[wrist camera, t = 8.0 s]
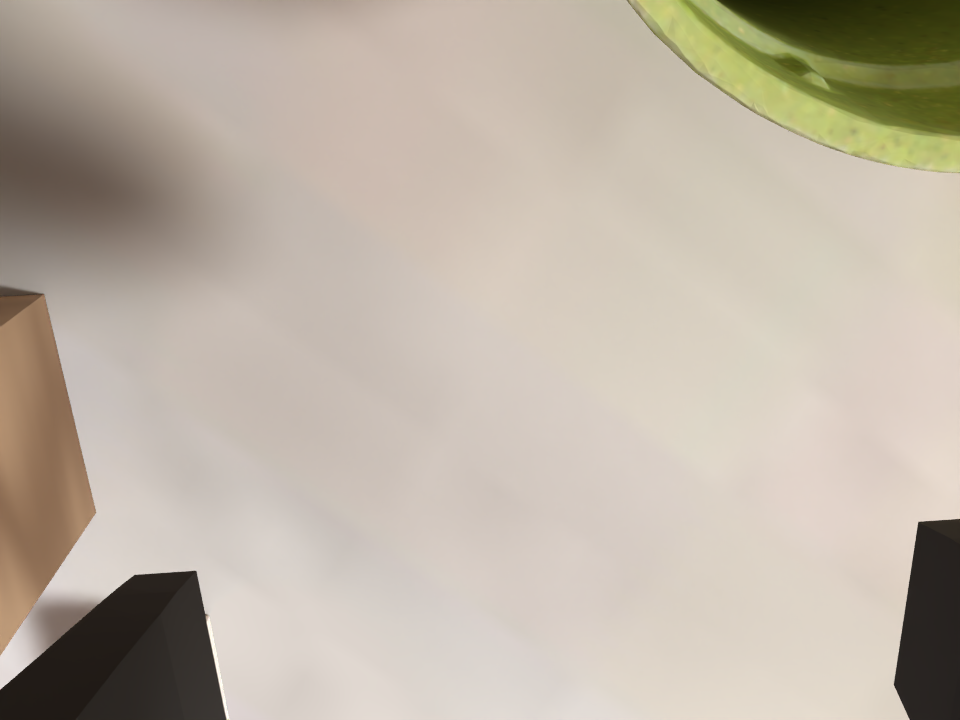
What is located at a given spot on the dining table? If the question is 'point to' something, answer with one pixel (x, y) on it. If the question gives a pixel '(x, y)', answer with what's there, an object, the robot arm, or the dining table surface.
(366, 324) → the dining table surface
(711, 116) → the dining table surface
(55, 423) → the tethered block
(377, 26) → the dining table surface
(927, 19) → the plant pot
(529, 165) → the dining table surface
